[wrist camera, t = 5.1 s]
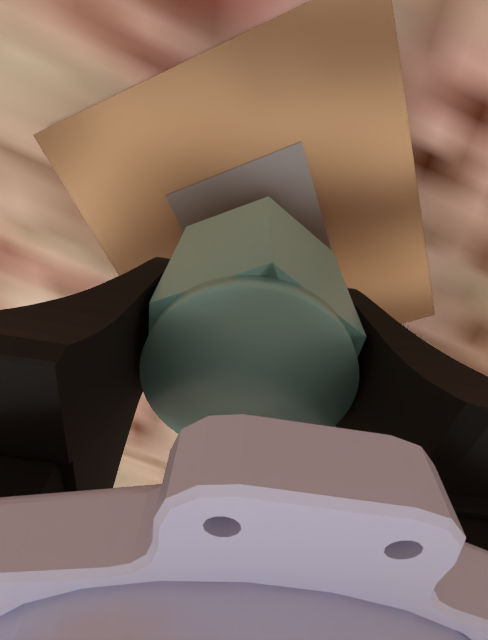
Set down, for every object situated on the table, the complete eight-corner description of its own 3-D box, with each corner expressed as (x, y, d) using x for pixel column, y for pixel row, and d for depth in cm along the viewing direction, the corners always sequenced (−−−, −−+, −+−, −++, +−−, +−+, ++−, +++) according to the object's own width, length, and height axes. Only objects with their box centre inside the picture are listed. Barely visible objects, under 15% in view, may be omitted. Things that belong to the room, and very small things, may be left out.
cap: (348, 311, 14) (391, 428, 10) (207, 351, 16) (184, 472, 11) (312, 178, 12) (347, 249, 7) (147, 239, 13) (83, 334, 8)
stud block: (426, 302, 20) (471, 365, 16) (187, 368, 23) (170, 436, 19) (377, -28, 13) (434, -79, 9) (47, 131, 16) (-32, 151, 12)
